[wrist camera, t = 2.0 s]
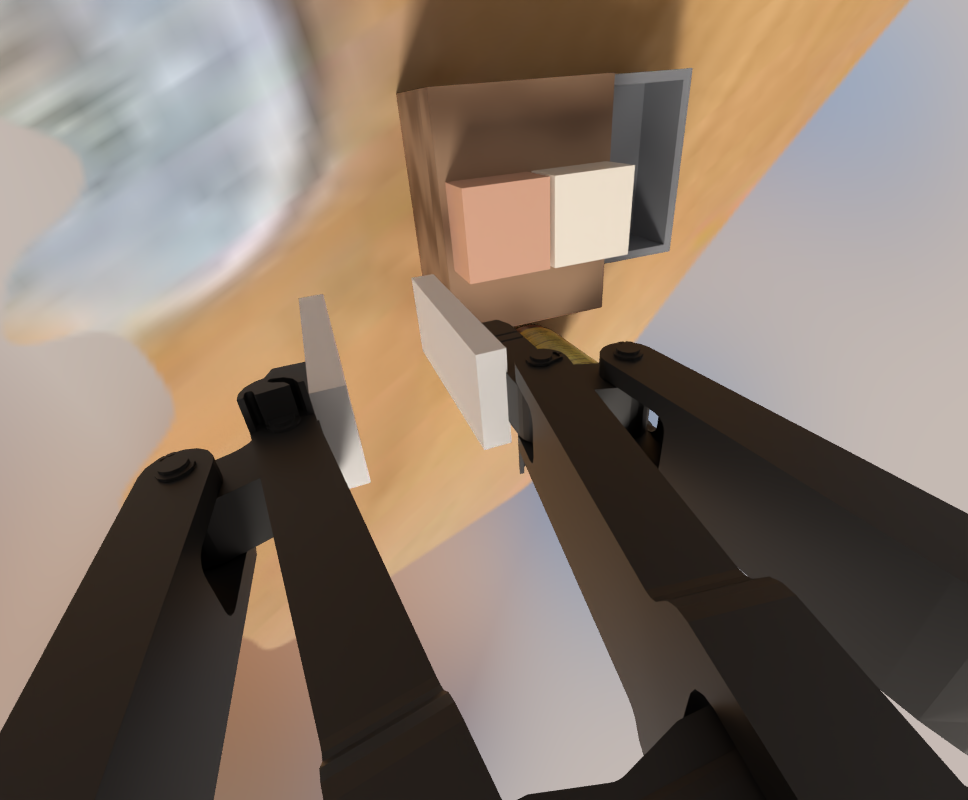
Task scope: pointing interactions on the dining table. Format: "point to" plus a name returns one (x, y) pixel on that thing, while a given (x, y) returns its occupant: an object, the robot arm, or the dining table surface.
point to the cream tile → (589, 211)
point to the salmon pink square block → (499, 225)
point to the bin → (650, 151)
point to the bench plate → (497, 151)
